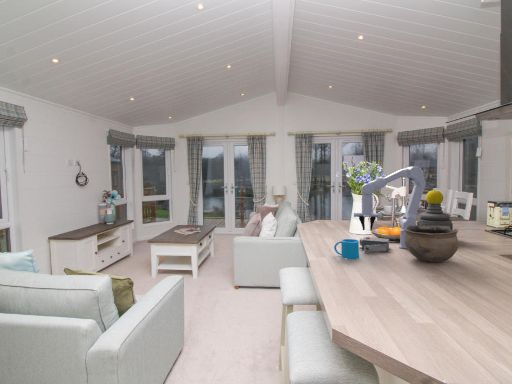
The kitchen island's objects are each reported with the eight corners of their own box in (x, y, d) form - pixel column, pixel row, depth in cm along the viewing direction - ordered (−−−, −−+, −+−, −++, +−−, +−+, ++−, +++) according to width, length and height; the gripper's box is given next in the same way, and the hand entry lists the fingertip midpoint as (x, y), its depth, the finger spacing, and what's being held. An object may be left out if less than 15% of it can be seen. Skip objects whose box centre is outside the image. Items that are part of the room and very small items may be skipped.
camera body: (389, 247, 172) (389, 237, 172) (387, 251, 165) (387, 240, 164) (360, 245, 179) (360, 235, 178) (358, 248, 171) (358, 238, 171)
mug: (360, 255, 157) (360, 239, 157) (356, 260, 150) (356, 243, 150) (336, 253, 163) (336, 237, 163) (332, 257, 156) (331, 241, 156)
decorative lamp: (409, 238, 193) (409, 190, 192) (433, 236, 199) (433, 188, 197) (435, 245, 175) (435, 191, 174) (460, 242, 181) (461, 190, 179)
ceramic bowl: (467, 268, 133) (467, 233, 132) (412, 266, 138) (412, 232, 137) (446, 254, 155) (446, 224, 154) (399, 253, 159) (399, 224, 158)
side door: (387, 250, 165) (387, 243, 165) (388, 251, 163) (388, 244, 163) (364, 252, 163) (364, 245, 163) (365, 253, 161) (365, 245, 161)
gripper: (352, 206, 174) (352, 230, 175) (380, 206, 168) (380, 232, 168) (354, 204, 180) (354, 228, 181) (381, 205, 174) (381, 229, 175)
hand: (367, 230), depth 175 cm, fingers open, 3 cm apart
